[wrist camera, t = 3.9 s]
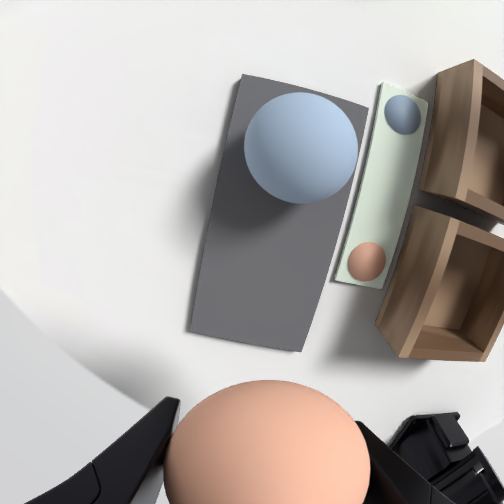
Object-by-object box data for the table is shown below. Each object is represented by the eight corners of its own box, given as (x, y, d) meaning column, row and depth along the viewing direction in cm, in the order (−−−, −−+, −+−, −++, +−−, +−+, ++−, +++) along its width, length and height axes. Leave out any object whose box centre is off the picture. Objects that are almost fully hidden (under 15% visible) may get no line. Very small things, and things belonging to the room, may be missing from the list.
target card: (380, 287, 18) (382, 290, 18) (333, 278, 18) (335, 281, 18) (426, 102, 15) (429, 101, 15) (381, 83, 15) (383, 81, 14)
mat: (299, 347, 19) (301, 352, 19) (191, 326, 19) (189, 331, 18) (365, 109, 15) (368, 107, 15) (242, 77, 15) (242, 73, 14)
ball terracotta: (313, 458, 9) (333, 573, 5) (175, 441, 9) (149, 563, 4) (369, 353, 8) (444, 495, 3) (191, 324, 8) (136, 496, 3)
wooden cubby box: (457, 334, 19) (484, 361, 16) (374, 323, 19) (397, 357, 15) (494, 235, 17) (530, 251, 13) (414, 205, 17) (450, 216, 13)
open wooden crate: (498, 222, 17) (534, 236, 13) (418, 189, 17) (455, 197, 13) (515, 122, 15) (551, 121, 11) (437, 73, 14) (473, 59, 11)
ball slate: (327, 207, 16) (358, 225, 11) (235, 185, 16) (229, 195, 11) (348, 118, 15) (385, 102, 10) (256, 94, 15) (259, 65, 10)
